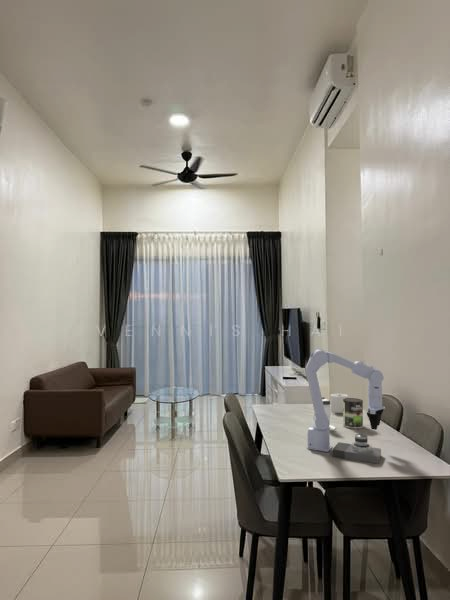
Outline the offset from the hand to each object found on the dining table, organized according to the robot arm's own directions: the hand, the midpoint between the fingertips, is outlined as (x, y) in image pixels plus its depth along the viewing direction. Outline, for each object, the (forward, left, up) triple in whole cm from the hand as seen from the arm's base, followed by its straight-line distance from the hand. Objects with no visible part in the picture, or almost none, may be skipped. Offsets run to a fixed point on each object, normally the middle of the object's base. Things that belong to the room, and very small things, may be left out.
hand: (375, 427), depth 186 cm
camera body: (-6, -11, -10) cm, 16 cm away
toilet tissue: (-31, +67, -11) cm, 75 cm away
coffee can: (-17, +37, -11) cm, 42 cm away
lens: (-4, -11, -7) cm, 14 cm away
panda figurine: (-30, +27, -11) cm, 42 cm away
